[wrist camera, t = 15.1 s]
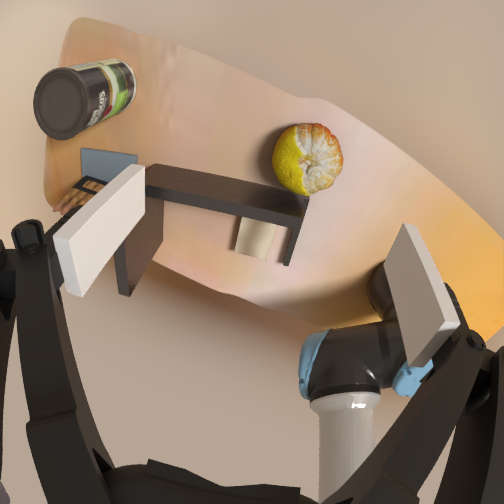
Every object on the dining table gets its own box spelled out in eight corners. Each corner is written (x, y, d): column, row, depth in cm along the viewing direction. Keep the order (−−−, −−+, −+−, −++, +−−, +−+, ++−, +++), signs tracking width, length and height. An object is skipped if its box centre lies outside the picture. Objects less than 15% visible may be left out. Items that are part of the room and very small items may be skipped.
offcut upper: (280, 210, 53) (280, 213, 52) (266, 256, 59) (266, 260, 58) (245, 201, 53) (244, 204, 52) (235, 248, 59) (234, 252, 58)
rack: (309, 195, 52) (311, 253, 39) (285, 269, 61) (280, 334, 48) (155, 163, 52) (109, 207, 39) (153, 238, 61) (118, 293, 48)
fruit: (331, 196, 51) (320, 215, 45) (274, 170, 53) (255, 186, 47) (356, 134, 44) (349, 144, 38) (293, 109, 46) (275, 115, 40)
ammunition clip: (85, 183, 55) (49, 214, 45) (86, 174, 54) (49, 205, 44) (132, 199, 56) (100, 234, 46) (133, 191, 55) (100, 225, 45)
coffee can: (148, 75, 42) (100, 89, 31) (119, 125, 48) (71, 153, 37) (103, 47, 40) (48, 56, 28) (78, 97, 45) (25, 119, 34)
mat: (137, 155, 51) (136, 156, 50) (137, 222, 59) (136, 224, 59) (82, 147, 51) (80, 148, 50) (87, 211, 59) (85, 212, 59)
